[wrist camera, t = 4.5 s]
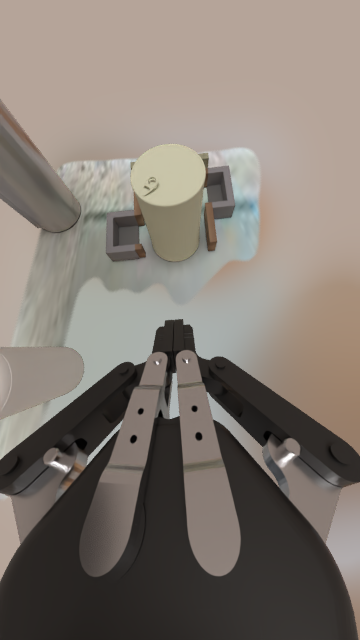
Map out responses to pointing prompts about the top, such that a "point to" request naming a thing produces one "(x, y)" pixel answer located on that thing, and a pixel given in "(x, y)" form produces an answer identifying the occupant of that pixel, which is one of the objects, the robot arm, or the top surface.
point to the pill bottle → (36, 376)
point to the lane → (207, 216)
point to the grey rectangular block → (170, 198)
